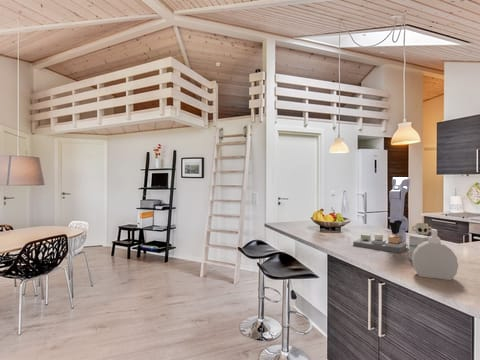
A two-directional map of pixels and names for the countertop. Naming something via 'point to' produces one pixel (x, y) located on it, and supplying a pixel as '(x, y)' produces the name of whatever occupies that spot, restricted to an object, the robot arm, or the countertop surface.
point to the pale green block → (365, 236)
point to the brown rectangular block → (395, 239)
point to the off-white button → (378, 237)
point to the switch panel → (381, 245)
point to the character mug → (421, 228)
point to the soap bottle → (434, 259)
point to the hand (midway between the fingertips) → (395, 233)
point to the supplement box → (415, 242)
